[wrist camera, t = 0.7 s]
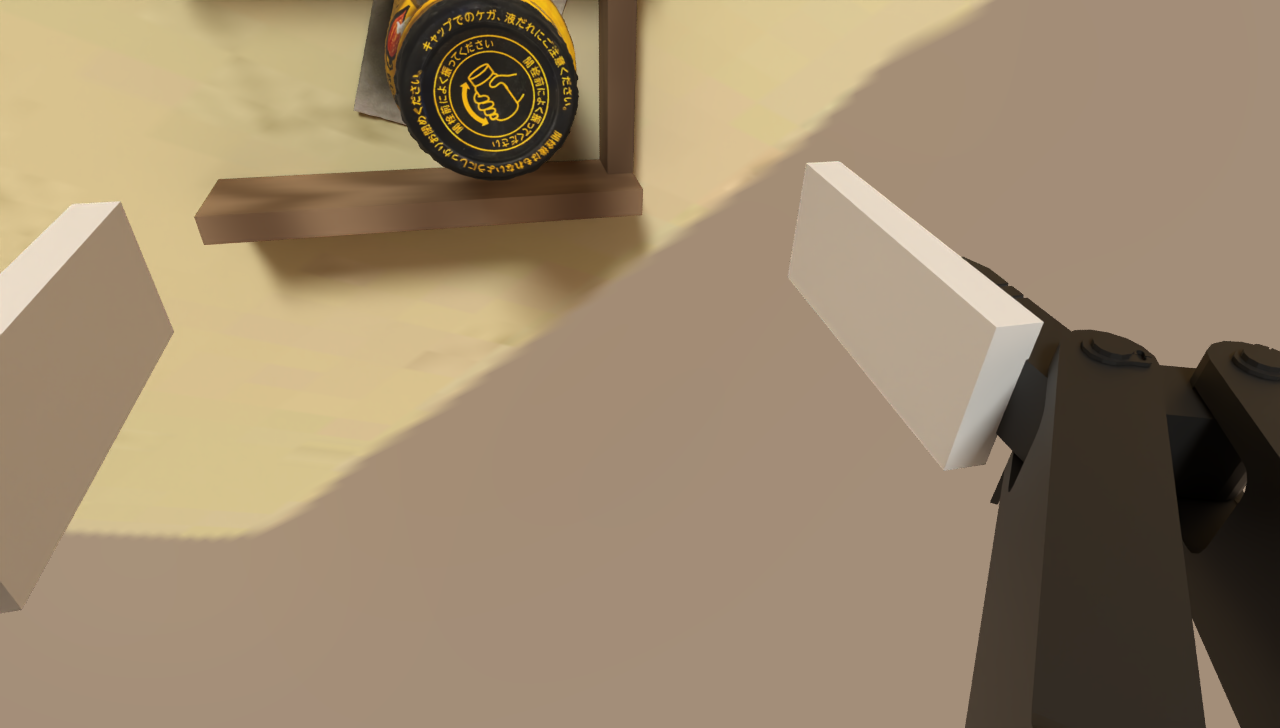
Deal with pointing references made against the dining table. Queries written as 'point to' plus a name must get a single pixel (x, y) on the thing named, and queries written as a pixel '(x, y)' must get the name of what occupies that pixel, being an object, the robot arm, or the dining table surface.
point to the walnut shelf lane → (450, 178)
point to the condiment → (473, 80)
